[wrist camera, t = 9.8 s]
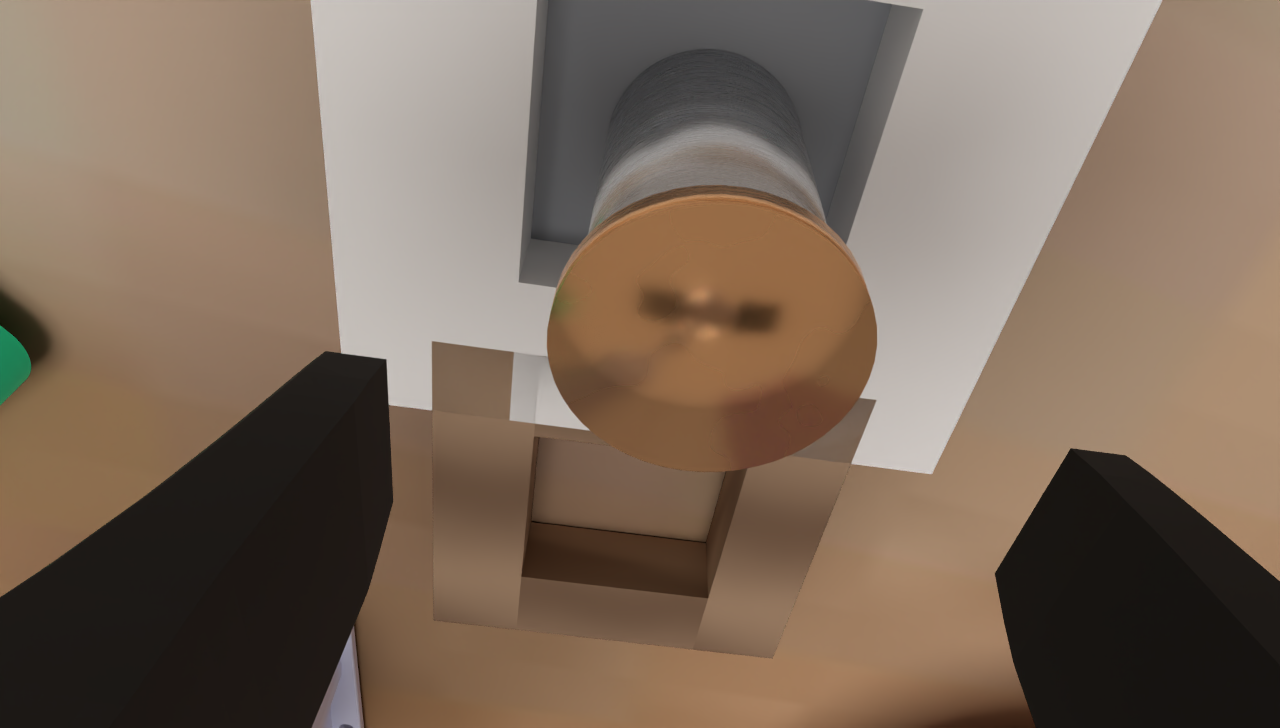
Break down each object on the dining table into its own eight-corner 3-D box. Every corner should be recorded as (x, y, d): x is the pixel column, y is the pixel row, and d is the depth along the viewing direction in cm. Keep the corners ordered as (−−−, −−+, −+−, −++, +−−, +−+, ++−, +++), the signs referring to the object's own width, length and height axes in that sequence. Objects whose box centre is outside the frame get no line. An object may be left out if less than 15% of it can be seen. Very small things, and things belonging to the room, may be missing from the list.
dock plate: (912, 420, 22) (931, 474, 20) (370, 349, 21) (345, 399, 20) (1202, -232, 14) (1273, -228, 12) (324, -393, 13) (274, -411, 11)
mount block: (766, 602, 27) (772, 658, 25) (448, 565, 26) (433, 620, 24) (860, 348, 21) (876, 400, 19) (451, 292, 20) (431, 341, 18)
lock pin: (783, 259, 19) (823, 490, 13) (581, 227, 19) (534, 449, 13) (843, 54, 16) (926, 237, 11) (607, 14, 16) (563, 179, 10)
